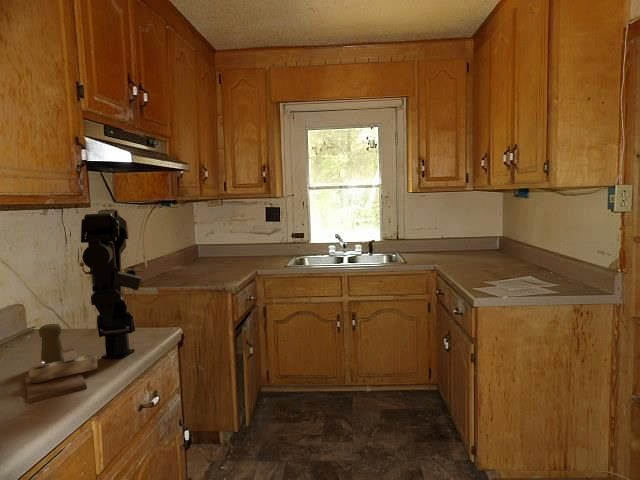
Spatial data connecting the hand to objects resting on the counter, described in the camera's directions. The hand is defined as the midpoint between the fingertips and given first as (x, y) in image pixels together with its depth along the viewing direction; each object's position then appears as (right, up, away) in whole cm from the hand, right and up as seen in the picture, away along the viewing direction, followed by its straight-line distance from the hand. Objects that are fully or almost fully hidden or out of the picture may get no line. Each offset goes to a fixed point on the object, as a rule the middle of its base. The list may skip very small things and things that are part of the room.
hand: (108, 325), depth 118 cm
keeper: (-12, -13, -2) cm, 18 cm away
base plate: (-11, -13, -5) cm, 18 cm away
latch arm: (-10, -11, -3) cm, 15 cm away
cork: (-19, -12, +8) cm, 24 cm away
